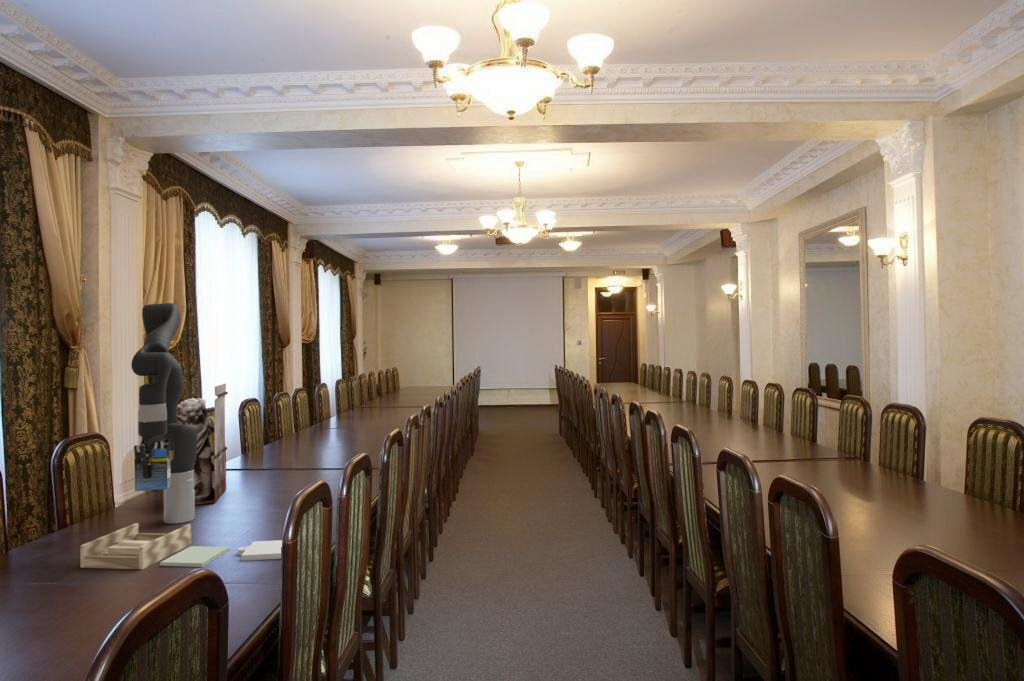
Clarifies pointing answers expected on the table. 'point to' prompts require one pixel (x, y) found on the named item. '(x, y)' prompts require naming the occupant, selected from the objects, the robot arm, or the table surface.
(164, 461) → the label tape cartridge
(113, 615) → the table surface
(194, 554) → the pad
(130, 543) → the offcut stack
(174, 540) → the wooden tray
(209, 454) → the cherub statue
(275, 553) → the mounting plate
